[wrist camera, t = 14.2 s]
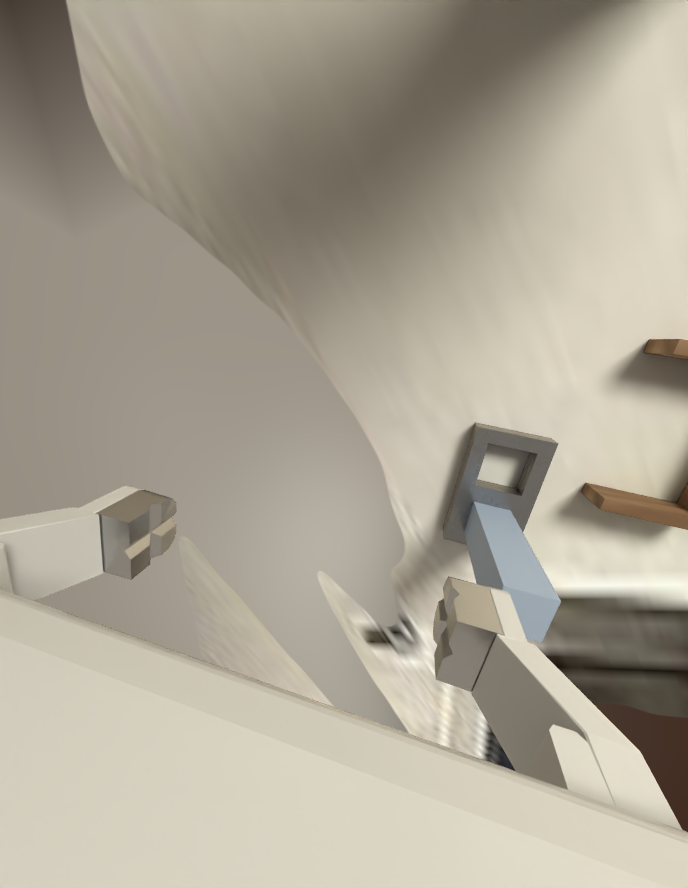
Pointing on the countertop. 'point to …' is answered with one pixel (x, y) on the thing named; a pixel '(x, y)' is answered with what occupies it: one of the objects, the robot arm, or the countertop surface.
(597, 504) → the frame
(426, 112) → the countertop surface
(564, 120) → the countertop surface
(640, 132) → the countertop surface
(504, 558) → the slate block
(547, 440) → the hole plate
